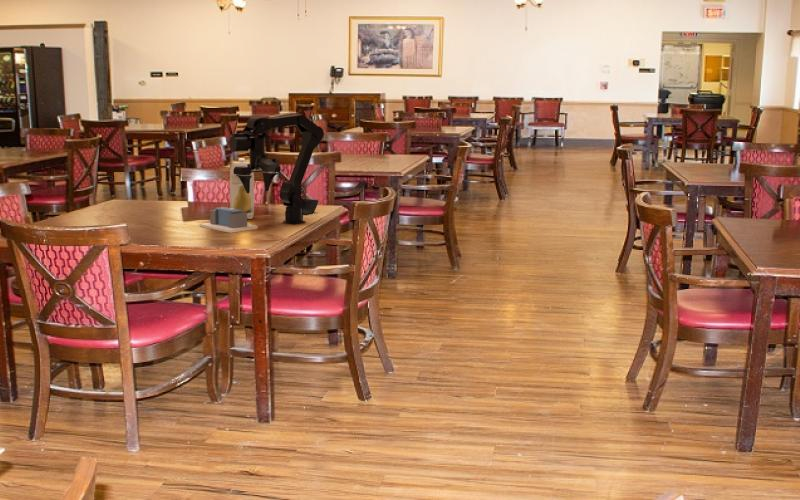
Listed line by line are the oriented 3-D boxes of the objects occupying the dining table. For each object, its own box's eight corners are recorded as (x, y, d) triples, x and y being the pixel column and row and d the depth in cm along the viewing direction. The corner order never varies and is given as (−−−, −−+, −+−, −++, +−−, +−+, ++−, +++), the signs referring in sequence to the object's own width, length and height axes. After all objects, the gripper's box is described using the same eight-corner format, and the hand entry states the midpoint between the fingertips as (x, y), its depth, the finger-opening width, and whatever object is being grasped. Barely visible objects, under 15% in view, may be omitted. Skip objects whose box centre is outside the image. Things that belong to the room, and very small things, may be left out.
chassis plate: (227, 222, 341) (227, 206, 340) (257, 228, 330) (257, 212, 329) (199, 226, 332) (199, 210, 330) (230, 232, 320) (230, 216, 319)
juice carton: (231, 219, 348) (230, 159, 343) (229, 216, 356) (228, 157, 351) (255, 219, 351) (254, 159, 346) (252, 216, 358) (252, 157, 353)
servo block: (224, 222, 336) (224, 205, 334) (242, 226, 329) (242, 209, 327) (215, 223, 332) (214, 207, 331) (233, 227, 325) (233, 210, 324)
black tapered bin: (282, 210, 366) (292, 189, 370) (287, 218, 372) (296, 198, 376) (307, 216, 362) (316, 195, 366) (312, 224, 369) (321, 204, 372)
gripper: (251, 153, 317) (252, 196, 320) (290, 151, 331) (290, 192, 334) (232, 151, 324) (232, 193, 328) (270, 149, 338) (270, 189, 341)
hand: (257, 192), depth 333 cm, fingers open, 9 cm apart
